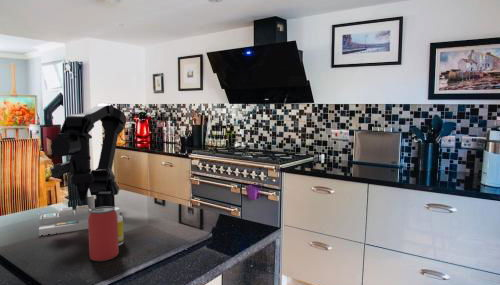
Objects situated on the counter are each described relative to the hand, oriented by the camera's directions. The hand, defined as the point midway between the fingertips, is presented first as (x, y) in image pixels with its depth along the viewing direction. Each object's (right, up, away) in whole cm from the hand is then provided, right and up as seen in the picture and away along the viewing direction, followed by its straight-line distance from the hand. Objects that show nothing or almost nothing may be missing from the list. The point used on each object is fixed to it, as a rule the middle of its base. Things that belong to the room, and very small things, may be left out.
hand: (82, 200), depth 108 cm
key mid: (-4, -4, -2) cm, 6 cm away
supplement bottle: (+18, -9, -18) cm, 27 cm away
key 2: (0, -4, 0) cm, 4 cm away
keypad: (-4, -8, -2) cm, 9 cm away
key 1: (-8, -6, -4) cm, 11 cm away
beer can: (+19, -9, -27) cm, 34 cm away
